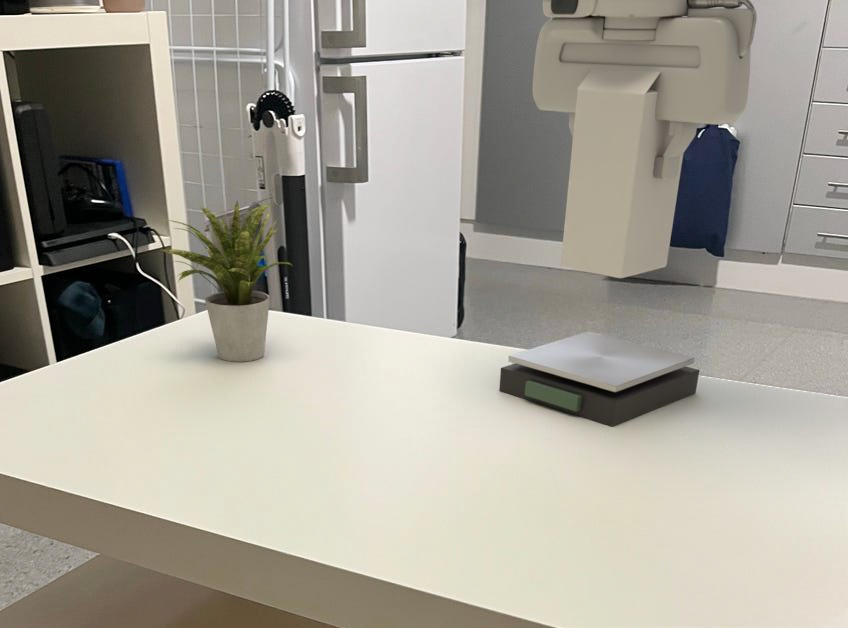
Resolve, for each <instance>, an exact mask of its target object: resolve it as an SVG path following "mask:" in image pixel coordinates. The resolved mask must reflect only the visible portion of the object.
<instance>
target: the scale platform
mask: <svg viewBox="0 0 848 628" xmlns="http://www.w3.org/2000/svg"><path fill="white" fill-rule="evenodd" d="M507 360H508V362H509V363H511V364H515V363H516V364H519V365H523V366H526V367H530V368H533V369H536V370H540V371H543V372H547V373H550V374H554V375H557V376H561V377H564V378H567V379H571V380H574V381H578V382H581V383H585V384H588V385H591V386H595V387H598V388H602V389H605V390H609V391H612V392H618V391H620V390H623V389H626V388H629V387H631V386H634V385H637V384H639V383H642V382H645V381H647V380H650V379H653V378H656V377H658V376H661V375H664V374H666V373H669V372H672V371H674V370H677V369H680V368H683V367H685V366H686V367H689V366H690V365H694V363H695V357H693V356H689V355H686V354H682V353H678V352H675V351H669V350H665V349H661V348H657V347H653V346H650V345H647V344H646V345H645V344H641V343H638V342H633V341H630V340H625V339H622V338H617V337H613V336H610V335H605V334H603V333H597V332H594V331H589V330H588V331H585V332H582V333H578V334H575V335H571V336H567V337H565V338H562V339H558V340H556V341H552V342H548V343H546V344H543V345H539V346H535V347H532V348H530V349H529V348H528V349H526V350H522V351H519V352H516V353H513V354H510V355H508V359H507Z"/></svg>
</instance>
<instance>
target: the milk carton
mask: <svg viewBox="0 0 848 628" xmlns="http://www.w3.org/2000/svg"><path fill="white" fill-rule="evenodd" d="M659 74H660V72H659V71H633V70H605V69H591V70H590V72H589V73H588V74H587V76H586V77H585V79H584V80H583V82H582V83H581V84H580V86H579V87H578V91H577V101H576V112H575V122H574V132H573V137H572V144H571V154H570V165H569V175H568V176H569V177H568V185H567V195H566V206H565V217H564V227H563V238H562V247H561V256H560V257H561V258H560V265H561V266H562V267H564V268H569V269H575V270H579V271H583V272H588V273H593V274H597V275H602V276H606V277H611V278H617V279H624V278H628V277H632V276H636V275H640V274H645V273H649V272H652V271H656V270H659V269H662V268H666V267H667V265H668V258H669V251H670V246H671V237H672V232H673V226H674V225H673V224H674V218H675V213H676V206H677V205H676V204H677V199H678V192H679V185H680V178H681V173H682V164H683V159H684V154H683V155H682V156H680V162H679V168H678V174H677V176H676V178H674V179H669V180H667V179H659V178H654V176H653V170H654V168H655V167H654V162H655V156H662V155H664V153H665V151H666V150H667V148H668V146H669V144H670V143H671V141H672V139H673V137H674V136H670V135H669V134H668V133H669V125H670V121H667V120H656V118H655V108H656V101H657V94H658V93H657V92H655V91H653V90H651V89H649V88H650V87H651V85H652V84H653V82H654V81H655V79H656V78H657V77H658V75H659Z"/></svg>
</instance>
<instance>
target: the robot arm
mask: <svg viewBox="0 0 848 628" xmlns="http://www.w3.org/2000/svg"><path fill="white" fill-rule="evenodd" d="M743 5H744V6H745V7H746V8H741V7H742V6H743ZM542 13H543V15H544V16H545V17H547V18H550V19H548V20H546V22H545V23H544V24H543V25H542V27H541V29H540V32H539V34H538V38H537V42H536V49H535V56H534V63H533V74H532V98H533V101H534V103H535V105H536V108H537V109H538V110H540V111H551V112H561V113H569V119H568V128H569V131H570V134H571V137H572V138H573V132H574V122H575V112H576V101H577V91H578V87H579V86H580V84H581V83H582V82H583V80H584V79H585V77H586V76H587V74H588V73H589V72H590V70H591V69H605V70H633V71H659V72H660V74H659V75H658V77H657V78H656V79H655V81H654V82H653V84H652V85H651V87H650V88H649V89H651V90H653V91H655V92H657V93H658V94H657V101H656V108H655V118H656V120H667V121H670V125H669V133H668V134H669V135H670V136H674V137H673V139H672V141H671V143H670V144H669V146H668V148H667V150H666V151H665V153H664V155H662V156H655V162H654V167H655V168H654V170H653V176H654V178H659V179H667V180H669V179H674V178H676V176H677V174H678V168H679V162H680V156H682V155H683V156H684V153H685V151H686V150H687V149H688V147H689V146H690V145H691V143H692V141H693V140H694V139H695V137H696V135H697V128H698V124H704V125H724V124H731V123H734V122H736V120H738V119H739V118H740V116H741V115H742V114H743V112H744V111H745V110H746V107H747V103H748V95H749V88H750V87H749V85H750V75H751V74H750V73H751V51H752V50H751V46H752V44H753V41H754V37H755V33H756V25H757V20H758V19H757V18H758V16H757V10H756V8H755V6H754V5H753V3H752V1H751V0H542Z"/></svg>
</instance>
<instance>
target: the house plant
mask: <svg viewBox="0 0 848 628" xmlns="http://www.w3.org/2000/svg"><path fill="white" fill-rule="evenodd" d="M271 205H272V203H267V204H264V205H261V206H257V207H254V208H252V209H251V210H250V211H249V212H248V213H247V214H246V216H245V218H244V221H243V223H242V226H241V225H240V221H241V219H240V218H241V217H240V207H239V201H238V200H236V202H235V205H234V209H233V216H232V221H231V226H230V228H231V230H230V229H229V226H228V224H227V223H226V222H225V221H224V220H223V219H222V218H217V217H216V215H215V214H214V213H213V212H212V211H211V210H209V209H208V208H206V207H204V206H202V205H198V207H200V209H201V210H202V212H203V214H204V215H205V216H206V217H207V219H208V220H209V223H210V224H211V228H212V230H213V233H214V236H215V237H216V239H217V242H218V244H219V246H220V249H221V251H222V252H221V251H220V249H219V248H218V247H217V246H216V245H215V244H214V243H213V242H212V241H211V240H210V239H209V238H208V237H207V236H206V235H204V234H203V233H202V232H201V231H200V230H198V229H196V228H195V227H193V226H192V225H189V224H187V223H184V222H181V221H177V220H171V219H165V222H172V223H176V224H181V225H182V226H183V227H182V228H179V227H178V228H177V227H176V228H175V227H174V228H173V229H174V230H182V231H185V232H188V233H189V234H191V235H193V236H195V238H197V239H198V241H200V243H201V244H202V245H203V246H204V249H205V250H206V251H207V253H208V255H209V256H207V255H205V254H201V253H197V252H193V251H189V250H184V249H175V248H174V249H173V248H172V249H167V248H165V249H164V248H163V249H161V251H162V252H164V253H166V254H170V255H171V254H172V255H175V256H179V257H181V258H182V259H186V260H188V261H190V262H192V263H195V264H196V267H198V266H199V265H200V266H202V267H205V268H207V270H210V271H211V272H212V273H213V274H212V273H209V272H207V271H204V270H201V269H197V268H195V267H193V266H192V265H191V264H189V263H187V262H184V261H180V260H174V262H175V263H182V264H185V265H187V266H189V267H190V268H192V269H187V270H184V271H182V272H180V273H179V274H177V276H176V278H178V277H179V279H178V281H177V283H179V282H180V281H181V280H183V279H184V278H186V277H188V276H190V275H193V274H197V273H198V274H199V275H200V276H201V277H202V278H204V279H205V280H207V281H208V282H209V283H210V284H211V285H212V286H213V287H214V288H215V289H216V290H217V291H218V292H214V293H211V294H210V295H207V296H206V297H205V299H204V303H205V306H206V310H207V315H208V318H209V322H210V326H211V327H210V328H211V331H212V334H213V338H214V339H213V340H214V343H215V347H216V351H217V356H218V357H219V359H221V360H224V361H228V362H237V363H238V362H239V363H240V362H251V361H256V360H259V359H261V358H263V357H264V355H265V349H266V348H265V347H266V338H267V330H268V320H269V309H270V300H271V296H270V295H269V294H267V293H265V292H263V291H257V290H253V289H254V286H255V285H256V283H257V282H258V280H259V278H260V277H261V276H262V275H263V274H264V272H266V271H267V270H268V269H271V268H272V267H274V266H278V265H283V264H284V265H291V263H290V262H288V261H277V262H274V263H271V264H270V265H262V264H261V265H260V264H259V263H260V262H261V261H262V259H264V260H265V261H267V256H266V255H261V254H262V251H263V250H264V248H265V247H266V246H267V245H268V243H269V242H270V240H271V238H272V237H273V235H274V234H275V233H277V232H278V230H279V229H280V227H281V226H278V227H277V228H276V229H274V230H273V228H274V227H275V225H276V223H277V221H278V219H279V216H278V217H277V219H276V220H275V221H274V223H272V225H271V227H270V228H269V230H268V231H267V233H266V235H265V237H264V239H263V240H262V241H261V243H259V241H260V238H261V237H262V234H263V232H264V230H265V228H266V225H267V222H268V219H269V217H270V214H271V212H272V211H271V210H269V212H268V213H267V214H266V216H265V218H264V219H263V221H262V223H261V225H260V228H259V230H258V233H257V229H258V227H259V224H260V222H261V220H262V218H263V216H264V214H265V211H266V209H267V208H268V207H270V206H271ZM159 220H161V221H163V219H162V218H161V219H159ZM218 220H219V221H220V223H221V225H222V226H221V225H220V224H219V221H218ZM240 226H241V227H240ZM185 227H186V228H185ZM230 231H231V232H230ZM256 233H257V234H256ZM255 235H256V237H255ZM258 243H259V245H258ZM292 267H293V268H294V266H292ZM205 276H208V277H209V278H211V279H212V280H213V281H215V282H216V284H217V285H218V286H219V287H220V289H222V291H221V290H220V289H219V288H218V287H217V286H216V285H215V284H214V283H213V282H211V280H209V279H208V278H207V277H205Z"/></svg>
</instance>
